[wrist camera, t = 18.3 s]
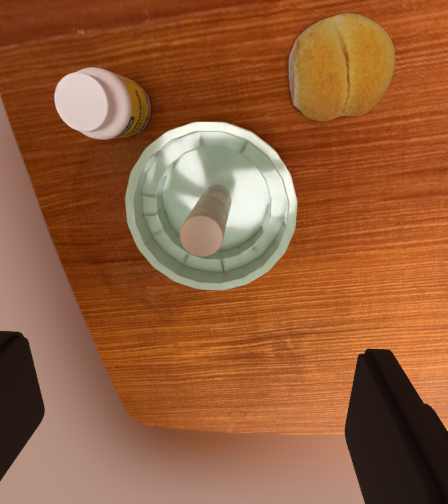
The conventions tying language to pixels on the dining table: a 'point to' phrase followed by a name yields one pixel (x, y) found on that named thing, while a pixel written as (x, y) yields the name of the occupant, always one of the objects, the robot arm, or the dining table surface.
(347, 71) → the bread roll
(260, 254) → the bowl
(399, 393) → the robot arm
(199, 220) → the stirring stick
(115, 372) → the dining table surface
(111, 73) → the supplement bottle
